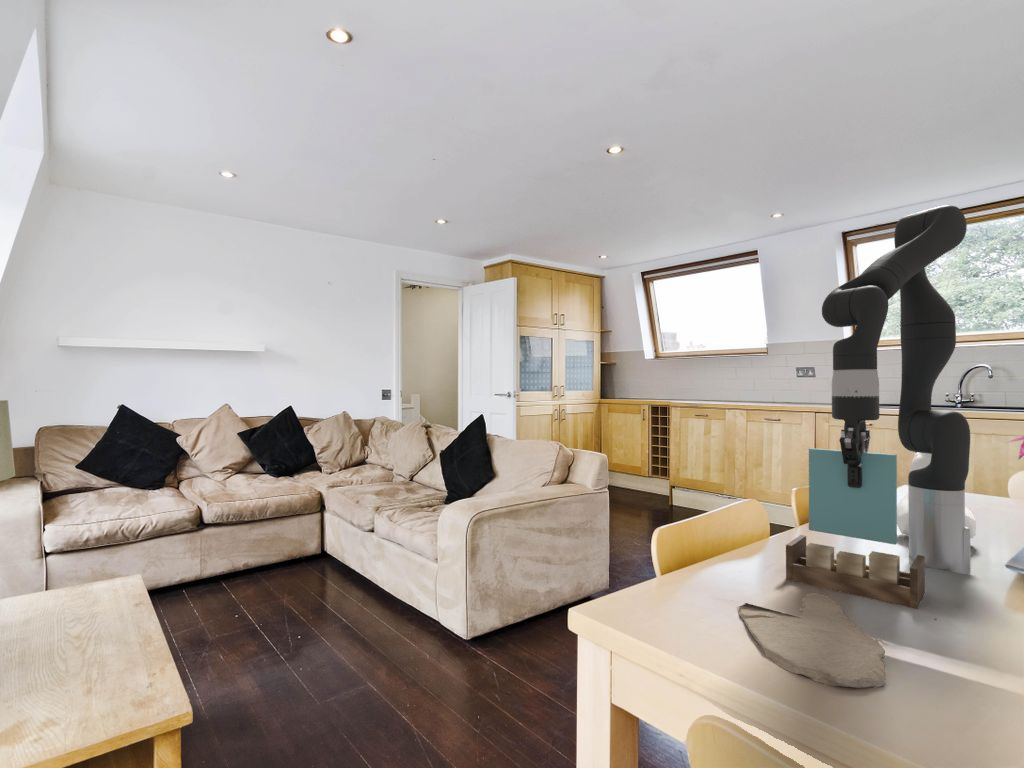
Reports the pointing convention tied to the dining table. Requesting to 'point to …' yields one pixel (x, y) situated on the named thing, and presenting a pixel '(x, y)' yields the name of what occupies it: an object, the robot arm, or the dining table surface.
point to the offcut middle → (851, 564)
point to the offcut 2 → (884, 567)
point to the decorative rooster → (903, 506)
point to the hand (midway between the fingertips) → (855, 486)
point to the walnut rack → (857, 579)
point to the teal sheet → (853, 496)
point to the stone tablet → (818, 643)
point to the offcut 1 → (820, 556)
